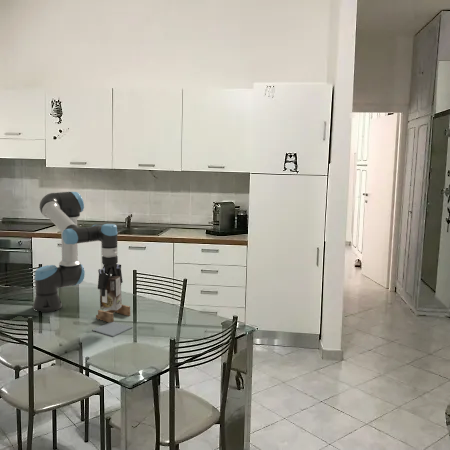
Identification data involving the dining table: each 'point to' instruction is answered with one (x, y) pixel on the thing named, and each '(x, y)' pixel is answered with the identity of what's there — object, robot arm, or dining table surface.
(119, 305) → the coffee box
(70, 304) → the dining table surface
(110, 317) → the slot rack
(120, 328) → the rubber mat
